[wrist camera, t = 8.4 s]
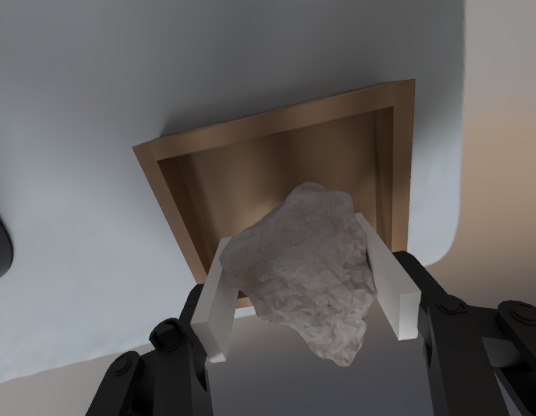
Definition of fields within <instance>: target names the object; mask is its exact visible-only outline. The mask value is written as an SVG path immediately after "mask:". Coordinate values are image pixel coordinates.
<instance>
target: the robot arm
mask: <svg viewBox="0 0 536 416" xmlns="http://www.w3.org/2000/svg"><path fill="white" fill-rule="evenodd" d="M355 216H356V220H357V222H358V223H359V224H360V225H361V227H362V230H363V231H364V232H365V233H366V234H367V240H368V243H367V247H366V261H367V263H368V265H369V268H370V269H371V271H372V273H373V278H374V282H375V288H376V291H377V295H376V297H377V299H378V301H379V303H380V305H381V307H382V309H383V311H384V313H385V315H386V317H387V318H388V320H389V322H390V324H391V326H392V328H393V330H394V332H395V334H396V336H397V338H398V340H404V339H412V338H417V333H418V330H419V331H420V333H421V335H422V336H423V338H424V346H423V355H422V357H425V359H426V366H427V373H428V380H429V387H430V394H431V400H432V407H433V413H434V416H510V415H509V412H508V409H507V407H506V404H505V401H504V399H503V396H502V393H501V390H500V387H499V385H498V382H497V379H496V377H495V374H496V375H497V377H498V378H499V380H500V381H501V383H502V385H503V386H504V388H505V389H506V391H507V393H508V394H509V396H510V397H511V399H512V401H513V402H514V404H515V405H516V407H517V408H518V410H519V411H520V413H521V415H522V416H536V307H535V306H533V305H530V304H527V303H523V302H521V301H512V300H509V301H503V302H502V303H500V304H499V305H498V309H491V308H482V307H475V306H470V305H467V304H466V303H465V302H464V301H462V300H461V299H459V298H457V297H455V296H452V295H448V294H447V293H446V292H445V291H444V289H443V288H442V287H441V286H440V285H439V284H438V283H437V281H435V279H434V278H433V277H432V276H431V275H430V274H429V273H428V272H427V271H426V270H425V268H424V267H423V266H422V265H421V264H420V262H419V261H418V260H417V259H416V258H415V257H414V256H413V255H411V254H410V253H408V252H406V251H404V250H403V251H397V252H391V251H390V250H389V249H388V248H387V246H386V245H385V244H384V242H383V241H382V240H381V238H380V237H379V236H378V234H377V233H376V232H375V231H374V229H373V228H372V227H371V225H370V224H369V223H368V221H367V220H366V219H365V217H364V216H363V215H362V213H356V214H355ZM231 238H232V236H231V237H225V238H221V240H220V243H219V246H218V249H217V251H216V254H215V257H214V260H213V262H212V265H211V268H210V271H209V273H208V276H207V279H206V282H205V283H203V284H197V285H196V286H195V287H194V288H193V289H192V290H191V292H190V294H189V296H188V298H187V301H186V303H185V305H184V308H183V310H182V312H181V315H180V317H179V320H178V319H177V318H169V319H166V320H164V321H162V322H161V323H159V324H158V325H157V326H156V327H155V328H154V329H153V331H152V332H151V334H150V337H149V340H150V342H151V343H152V344H153V346H154V347H155V350H153V351H151V352H148V353H146V354H144V355H141V356H140V355H139V354H138V353H137V352H136V351H128V352H126V353H124V354H122V355H121V356H119V357H118V358H117V359H116V360H115V361H114V362H113V363H112V364H111V365H110V367H109V369H108V370H107V372H106V374H105V376H104V378H103V380H102V382H101V384H100V386H99V388H98V390H97V393H96V395H95V397H94V399H93V401H92V403H91V405H90V407H89V409H88V411H87V413H86V415H85V416H213V408H212V401H211V395H210V387H209V379H208V372H207V369H206V367H205V361H206V357H207V356H208V358H209V360H210V362H211V363H212V362H220V361H226V359H227V353H228V348H229V342H230V336H231V331H232V325H233V319H234V314H235V308H236V302H237V297H238V291H239V290H238V289H236V288H234V287H232V286H231V285H230V283H229V281H228V279H227V277H226V270H225V269H224V268H223V267H222V266H221V264H220V260H219V257H220V255H221V252H222V251H223V249H224V248H225V246H226V245H227V244H228V243H229V241H230V239H231ZM10 263H11V247H10V243H9V240H8V238H7V235H6V233H5V231H4V230H3V228H2V226H1V225H0V277H2V276H3V275H4V274H5V273H6V272H7V270H8V268H9V266H10ZM494 372H495V374H494Z"/></svg>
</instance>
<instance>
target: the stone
mask: <svg viewBox="0 0 536 416" xmlns="http://www.w3.org/2000/svg"><path fill="white" fill-rule="evenodd" d="M367 243H368V240H367V234H366V233H365V232H364V231H363V230H362V227H361V225H360V224H359V223H358V222H357V220H356V216H355V213H354V211H353V201H352V198H351V196H350V195H349V194H348V193H346V192H343V191H338V190H329V189H328V188H326V187H324V186H322V185H320V184H318V183H312V182H305V183H303V184H302V185H299V186H297V187H296V188H295V189H294V190H293V191H292V192H291V193H290V195H288V196H287V198H286V200H285V201H284V202H283V203H281V204H279V205H278V206H276V207H275V208H274V209H273V210H272V211H271V212H270V213H268V214H267V215H265V216H263V218H262V219H261V220H259V221H258V222H257V223H255V224H254V225H252V226H250V227H248V228H246V229H245V230H243V231H242V232H241V233H239V234H236V235H235V236H234V237H232V238H231V239H230V241H229V243H228V244H227V245H226V246H225V248H224V249H223V251H222V252H221V255H220V257H219V260H220V264H221V266H222V267H223V268H224V269H225V270H226V277H227V279H228V281H229V283H230V285H231V286H232V287H234V288H236V289H238V290H240V291H242V292H243V293H244V294H245V295H247V296H248V297H249V299H250V302H251V303H252V305H253V306H254V308H255V311H256V314H257V316H258V317H260V318H261V319H262V320H264V321H265V320H268V321H270V322H273V323H277V324H286V325H288V326H290V327H292V328H293V329H295V330H297V331H299V333H300V334H301V336H302V337H303V338H304V339H305V341H306V342H307V343H308V345H309V347H310V349H311V351H312V352H314V353H315V354H316V355H318V356H319V357H321V358H323V359H326V358H329V359H331V360H333V361H334V362H335V363H337V364H338V365H339V366H349V365H350V363H351V362H352V361H353V359H354V357H355V355H356V353H357V351H358V350H359V349H360V348H361V346H362V343H363V334H364V332H365V331H366V327H367V309H368V307H369V305H370V304H371V303H372V302H373V301H374V300H375V298H376V295H377V291H376V288H375V282H374V278H373V273H372V271H371V269H370V268H369V265H368V263H367V261H366V247H367Z"/></svg>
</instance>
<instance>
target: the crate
mask: <svg viewBox="0 0 536 416" xmlns="http://www.w3.org/2000/svg"><path fill="white" fill-rule="evenodd" d="M414 96H415V79H410V80H402V81H394V82H386V83H381V84H377V85H373V86H369V87H365V88H361V89H357V90H352V91H348V92H344V93H340V94H336V95H332V96H328V97H324V98H319V99H315V100H311V101H307V102H303V103H299V104H295V105H291V106H287V107H282V108H278V109H274V110H270V111H266V112H262V113H258V114H254V115H249V116H245V117H241V118H237V119H233V120H229V121H225V122H221V123H217V124H212V125H208V126H204V127H200V128H196V129H192V130H188V131H184V132H179V133H175V134H171V135H167V136H163V137H159V138H156V139H153V140H151V141H148V142H145V143H142V144H139V145H137V146H134V147H132V148H133V150H134V152H135V154H136V156H137V159H138V161H139V163H140V165H141V167H142V169H143V171H144V173H145V175H146V178H147V180H148V182H149V184H150V186H151V188H152V190H153V192H154V194H155V196H156V199H157V201H158V203H159V205H160V207H161V209H162V211H163V213H164V215H165V218H166V220H167V222H168V224H169V226H170V228H171V230H172V232H173V234H174V236H175V239H176V241H177V243H178V245H179V247H180V249H181V251H182V253H183V255H184V258H185V260H186V262H187V264H188V266H189V268H190V270H191V272H192V274H193V276H194V279H195V281H196V283H197V284H203V283H205V282H206V279H207V276H208V273H209V271H210V268H211V265H212V262H213V260H214V257H215V254H216V251H217V249H218V246H219V243H220V240H221V238H225V237H231V236H232V237H234V236H235V235H236V234H239V233H241V232H242V231H243V230H245V229H246V228H248V227H250V226H252V225H254V224H255V223H257V222H258V221H259V220H261V219H262V218H263V216H265V215H267V214H268V213H270V212H271V211H272V210H273V209H274V208H275V207H276V206H278V205H279V204H281V203H283V202H284V201H285V200H286V198H287V196H288V195H290V193H291V192H292V191H293V190H294V189H295V188H296V187H297V186H299V185H302V184H303V183H305V182H312V183H318V184H320V185H322V186H324V187H326V188H328V189H329V190H338V191H343V192H346V193H348V194H349V195H350V196H351V198H352V201H353V211H354V213H355V214H356V213H362V215H363V216H364V217H365V219H366V220H367V221H368V223H369V224H370V225H371V227H372V228H373V229H374V231H375V232H376V233H377V234H378V236H379V237H380V238H381V240H382V241H383V242H384V244H385V245H386V246H387V248H388V249H389V250H390V251H391V252H397V251H403V250H404V251H406V252H407V240H408V220H409V199H410V179H411V158H412V138H413V117H414ZM250 306H253V305H252V303H251V302H250V299H249V297H248V296H247V295H245V294H244V293H243V292H242V291H240V290H239V291H238V297H237V302H236V308H235V309H237V308H243V307H250Z"/></svg>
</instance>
